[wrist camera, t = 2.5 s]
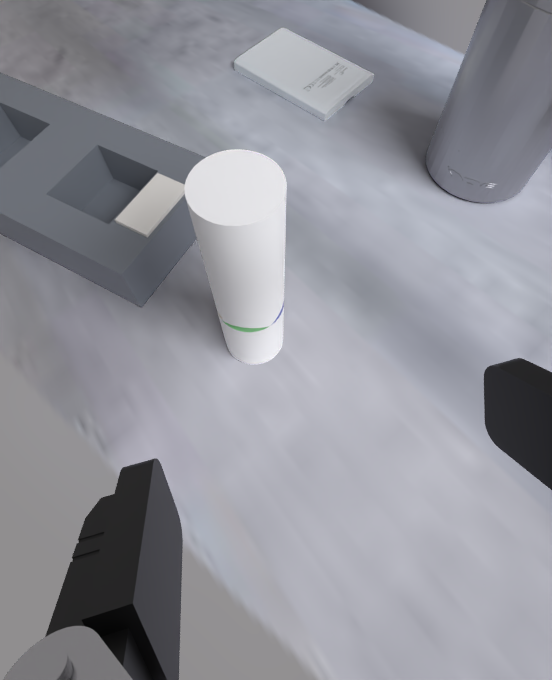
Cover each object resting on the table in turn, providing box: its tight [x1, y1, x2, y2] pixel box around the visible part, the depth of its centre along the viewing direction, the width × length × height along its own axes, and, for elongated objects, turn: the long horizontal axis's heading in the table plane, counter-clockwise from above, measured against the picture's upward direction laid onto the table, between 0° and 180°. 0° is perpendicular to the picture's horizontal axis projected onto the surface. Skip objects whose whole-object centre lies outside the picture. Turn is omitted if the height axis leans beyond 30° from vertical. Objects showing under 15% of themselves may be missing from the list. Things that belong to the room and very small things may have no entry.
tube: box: [184, 149, 287, 365], centre depth 24 cm, size 4×4×15 cm
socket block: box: [0, 73, 206, 307], centre depth 35 cm, size 24×12×5 cm, turn 61°
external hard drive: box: [234, 27, 374, 121], centre depth 44 cm, size 2×8×12 cm
